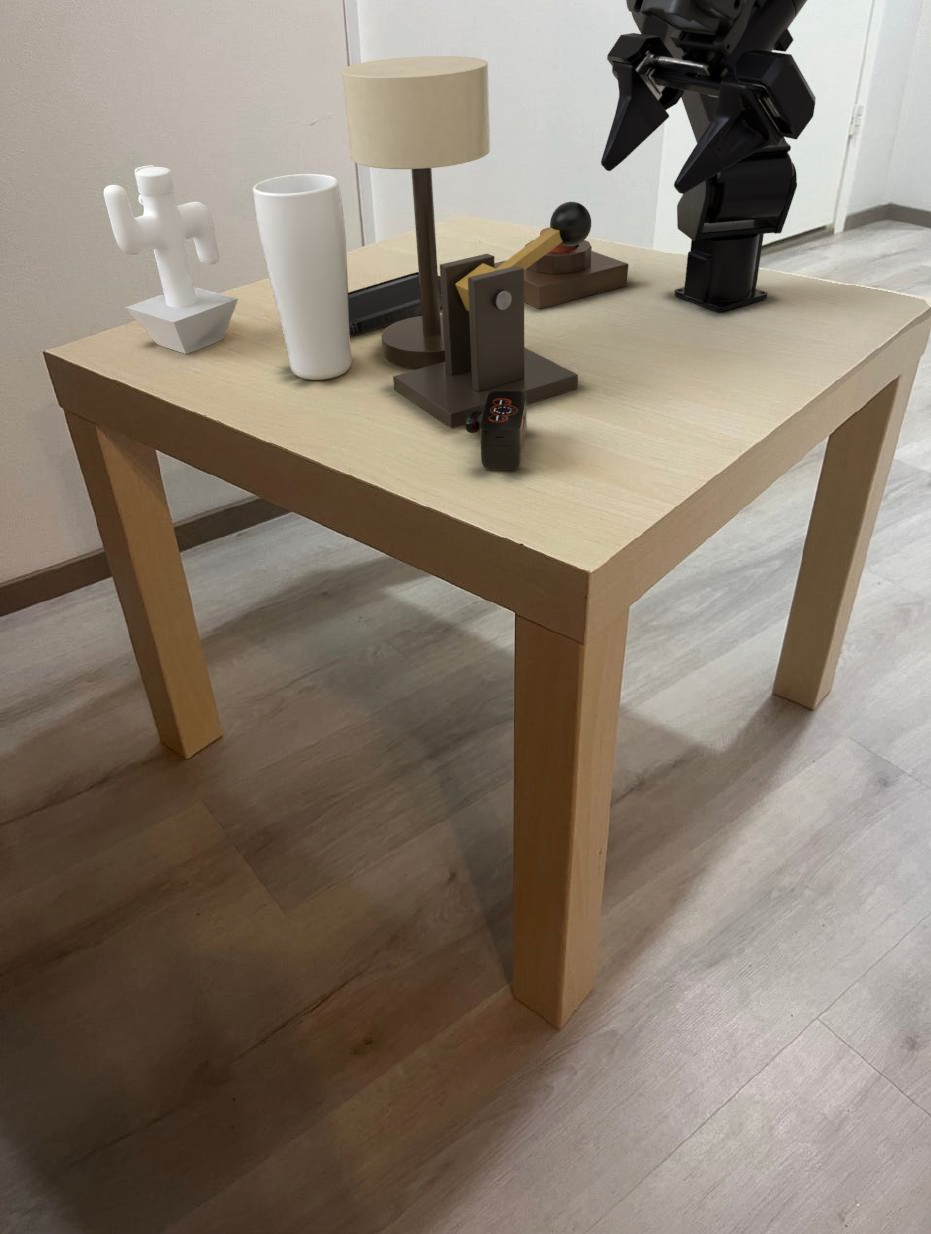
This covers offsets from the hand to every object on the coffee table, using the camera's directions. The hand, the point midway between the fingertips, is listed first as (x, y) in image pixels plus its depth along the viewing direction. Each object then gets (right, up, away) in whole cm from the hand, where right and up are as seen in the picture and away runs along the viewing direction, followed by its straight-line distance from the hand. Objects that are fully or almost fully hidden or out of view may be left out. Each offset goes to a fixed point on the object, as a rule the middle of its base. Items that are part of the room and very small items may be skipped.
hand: (639, 178), depth 74 cm
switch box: (-4, -1, +22) cm, 22 cm away
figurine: (-40, -9, +13) cm, 43 cm away
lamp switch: (-12, -16, +2) cm, 21 cm away
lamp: (-17, -11, +9) cm, 22 cm away
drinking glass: (-26, -14, +7) cm, 30 cm away
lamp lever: (-8, -8, -1) cm, 12 cm away
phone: (-21, -4, +18) cm, 28 cm away
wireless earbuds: (-12, -23, -6) cm, 26 cm away
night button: (-5, +2, +19) cm, 20 cm away
